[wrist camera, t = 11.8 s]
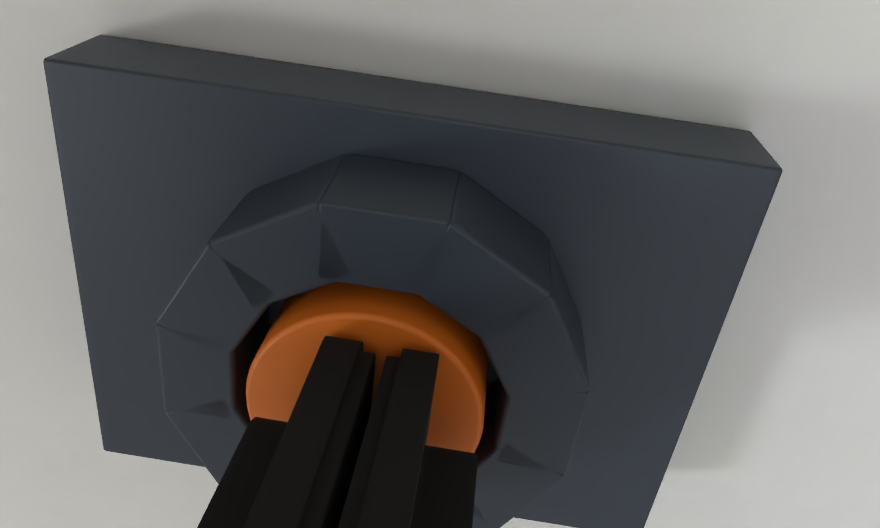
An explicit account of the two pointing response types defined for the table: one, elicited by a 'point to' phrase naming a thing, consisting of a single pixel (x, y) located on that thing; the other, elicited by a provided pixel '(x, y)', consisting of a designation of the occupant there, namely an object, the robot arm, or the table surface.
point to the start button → (386, 334)
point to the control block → (402, 254)
